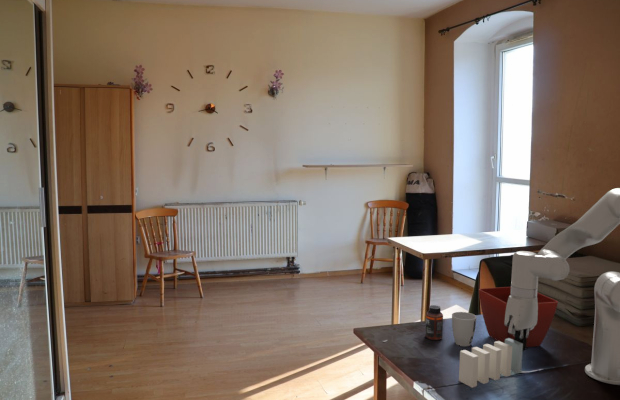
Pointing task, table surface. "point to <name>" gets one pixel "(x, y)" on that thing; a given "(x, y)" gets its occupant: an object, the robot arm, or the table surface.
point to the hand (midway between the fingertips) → (519, 349)
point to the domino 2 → (482, 364)
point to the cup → (463, 327)
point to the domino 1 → (468, 368)
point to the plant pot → (495, 311)
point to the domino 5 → (515, 354)
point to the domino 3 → (494, 361)
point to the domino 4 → (505, 357)
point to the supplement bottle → (434, 323)
